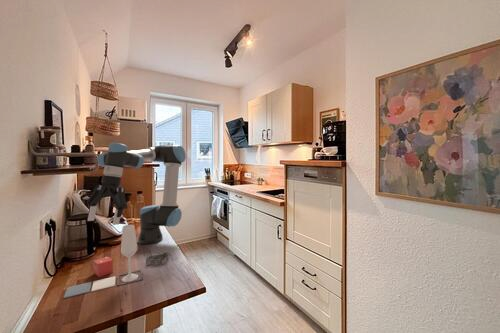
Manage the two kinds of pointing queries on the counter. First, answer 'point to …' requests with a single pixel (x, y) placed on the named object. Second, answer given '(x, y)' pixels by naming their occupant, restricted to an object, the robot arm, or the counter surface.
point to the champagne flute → (129, 249)
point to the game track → (96, 285)
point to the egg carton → (157, 259)
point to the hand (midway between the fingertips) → (103, 222)
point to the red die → (103, 266)
